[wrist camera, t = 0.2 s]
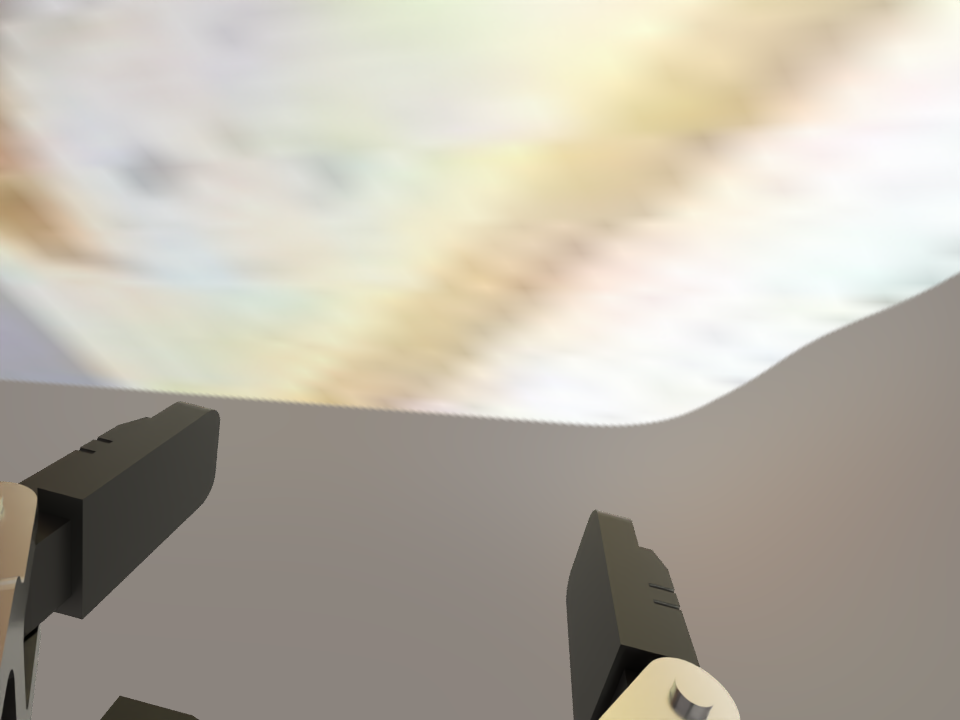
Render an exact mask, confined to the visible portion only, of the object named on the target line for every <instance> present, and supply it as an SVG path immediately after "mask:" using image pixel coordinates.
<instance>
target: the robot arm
mask: <svg viewBox="0 0 960 720" xmlns="http://www.w3.org/2000/svg"><path fill="white" fill-rule="evenodd" d="M219 425H220V417H219V414H218V412H217V411H215V410H212V409H209V408H205V407H201V406H197V405H193V404H189V403H186V402H177V403H175V404H173V405H171V406H170V407H168V408H166V409H165V410H163V411H162V412H160V413H158V414H157V415H155V416H153V417H152V418H148V417H145V418H142V419H139V420H135V421H131V422H128V423H124V424H121V425H118V426H116V427H115V428H113V429H111V430H109V431H108V432H106V433H104V434H103V435H101V436H99V437H98V439H97V440H92V441H91V442H89V443H87V444H85V445H84V446H82V447H81V448H80V450H79V451H78V450H75V451H73V452H72V453H70V454H68V455H67V456H65V457H63V458H61V459H60V460H58V461H56V462H55V463H53V464H51V465H49V466H48V467H46V468H44V469H43V470H41V471H39V472H37V473H36V474H34V475H32V476H31V477H29V478H27V479H25V480H24V481H22V482H20V483H18V484H17V483H12V482H0V720H31V715H32V706H33V698H34V689H35V681H36V673H37V665H38V656H39V648H40V640H41V625H40V623H41V622H43V621H44V620H45V619H46V618H47V617H48V616H49V615H50V614H52V613H53V612H57V613H61V614H65V615H68V616H72V617H76V618H79V619H83V618H84V617H85V616H86V615H87V614H88V613H90V612H91V611H92V610H93V609H94V608H95V607H96V606H97V605H98V604H99V603H100V602H101V601H102V600H103V599H104V598H105V597H106V596H107V595H108V594H109V593H110V592H111V591H112V590H113V589H114V588H116V587H117V586H118V585H119V584H120V583H121V582H122V581H123V580H124V579H125V578H126V577H127V576H128V575H129V574H130V573H131V572H132V571H133V570H134V569H135V568H136V567H137V566H138V565H139V564H140V563H142V562H143V561H144V560H145V559H146V558H147V557H148V556H149V555H150V554H151V553H152V552H153V551H154V550H155V549H156V548H157V547H158V546H159V545H160V544H161V543H162V542H163V541H164V540H165V539H166V538H168V537H169V536H170V535H171V534H172V533H173V532H174V531H175V530H176V529H177V528H178V527H179V526H180V525H181V524H182V523H183V522H184V521H185V520H186V519H187V518H188V517H189V516H190V515H191V514H192V513H194V511H196V510H197V509H198V508H199V507H200V506H201V504H203V502H204V501H205V499H206V498H207V496H208V494H209V492H210V490H211V488H212V486H213V482H214V478H215V471H216V460H217V448H218V437H219ZM566 605H567V621H568V637H569V652H570V668H571V683H572V698H573V715H574V720H740V715H739V712H738V709H737V707H736V705H735V703H734V701H733V699H732V698H731V696H730V695H729V693H728V692H727V691H726V690H725V689H724V687H723V686H722V685H721V684H720V683H719V682H718V681H717V680H716V679H715V678H713V677H712V676H711V675H710V674H709V673H707V672H705V671H704V670H703V669H701V668H700V666H699V663H698V660H697V657H696V654H695V651H694V647H693V645H692V642H691V638H690V635H689V632H688V630H687V626H686V623H685V620H684V617H683V614H682V611H681V610H679V607H680V605H679V602H678V599H677V596H676V594H675V593H674V587H673V584H672V581H671V578H670V575H669V572H668V569H667V568H666V567H665V566H664V564H663V563H662V562H661V561H660V559H659V558H658V557H657V556H656V555H655V553H654V552H653V551H652V550H650V549H646V548H643V547H639V546H638V542H637V539H636V535H635V531H634V527H633V524H632V521H631V519H629V518H625V517H621V516H617V515H613V514H610V513H606V512H602V511H598V510H594V511H593V512H592V514H591V515H590V518H589V521H588V523H587V526H586V529H585V532H584V535H583V537H582V540H581V543H580V546H579V549H578V552H577V555H576V558H575V561H574V563H573V567H572V569H571V573H570V576H569V581H568V587H567V595H566ZM101 720H198V719H197V718H195V717H194V716H192V715H188V714H185V713H181V712H177V711H174V710H170V709H166V708H163V707H159V706H155V705H152V704H148V703H145V702H141V701H137V700H134V699H130V698H126V697H122V696H119V698H118V699H117V700H116V701H115V702H114V704H113V705H112V706H111V707H110V709H109V710H108V711H107V712H106V714H105V715H104V716H103V717H102V719H101Z"/></svg>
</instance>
